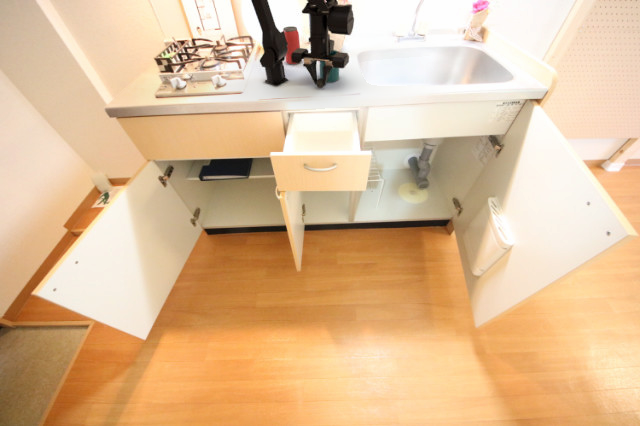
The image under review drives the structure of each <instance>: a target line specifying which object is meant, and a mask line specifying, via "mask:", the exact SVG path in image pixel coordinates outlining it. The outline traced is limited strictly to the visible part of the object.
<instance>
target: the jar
mask: <svg viewBox="0 0 640 426" xmlns="http://www.w3.org/2000/svg"><path fill="white" fill-rule="evenodd" d="M337 52H339V51H336V50H333V52H331V53H328V55H333V56H334V55H335V54H336V53H337ZM318 63H319V78H322V79H323V67H324V66H325V65H326V63H325V62H324V61H318ZM339 78H340V68H334V67H333V68H332V69H331V70H330V73H329V76H328V79H327V83H334V82H337V81H338V80H339Z"/></svg>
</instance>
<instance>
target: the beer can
mask: <svg viewBox="0 0 640 426" xmlns="http://www.w3.org/2000/svg"><path fill="white" fill-rule="evenodd" d="M282 31H284V33H285V37H286V41H287V43H288V45H287V47H288V51H287V54H286V55H285V63H286V64H288V65H298V64H299V63H292V60H291V55H292V53H293V52H294V51H295V50H296V49H297V48H301V43H300V34H299V30H298V27H297V26H285V27H284V28H282Z"/></svg>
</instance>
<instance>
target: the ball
mask: <svg viewBox="0 0 640 426" xmlns="http://www.w3.org/2000/svg"><path fill="white" fill-rule="evenodd" d="M315 86H316V87H317V89H323V88H324V87H325V86H324V84H323V79H322V78H320V77H319V78H317V81H316V85H315Z"/></svg>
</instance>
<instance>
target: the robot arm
mask: <svg viewBox="0 0 640 426" xmlns="http://www.w3.org/2000/svg"><path fill="white" fill-rule="evenodd" d="M250 1H251V4H252V7H253V10H254V13H255V16H256V18H257V21H258V24H259V27H260V30H261V45H262V49H263V54H262V55H261V57H260V59H259V63H260V65H261V67H262V68H264V70H265V76H266V79H265V80H264V82H265V83H266V84H269V85H272V86H275V87H278V86H279V85H281V84H284V83H285V82H288V81H289V79H288V78H287V77H286V72H285V66H284V63H283V62H284V61H286V58H285V55H286V54H287V51H288V47H287V45H288V43H287V41H286V37H285V33H284V31H283V30H282V31H280V30H279V28H278V27H277V25H276V23H275V19H274V17H273V14H272V9H271V7H270V4H269V1H268V0H250ZM301 14H304V15H305V14H307V15H308V22H309V23H308V24H309V25H308V26H309V37H308V43H309V44H310V51H309V50H308V48H302V47H300V48H297V49H296V50H295V51H294V52H293V53H292V55H291V60H292V63H298V64H301V63H302V61H303V64H302V66H303V67H304V68H305V69H306V70H307V73H308V74H309V75H310V77H311V79H312V81H313V83H314V85H315V86H316V81H317V79H318V72H317V64H318V62H319V61H324V62H325V63H326V65H325V66H324V67H323V84H324V87H326V86H327V83H328V82H327V79H328V76H329V73H330V70H331V69H332V68H333V67H334V68H339V69H345V68H346V66H347V65H348V64H349V63H350V56H349V53H348V52H341V51H338V52H337V53H336V54H335V55H334V56H333V55H328V53H331V52H333V50H334V40H330V35H329V34H328V31H330V32H331V33H332V34H342V35H345V36H351V34H352V33H353V29H354V24H355V17H354V11H353V4H349V3H348V4H339V1H337V0H306V4H305V6H304V8H303V9H302V10H301Z"/></svg>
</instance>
